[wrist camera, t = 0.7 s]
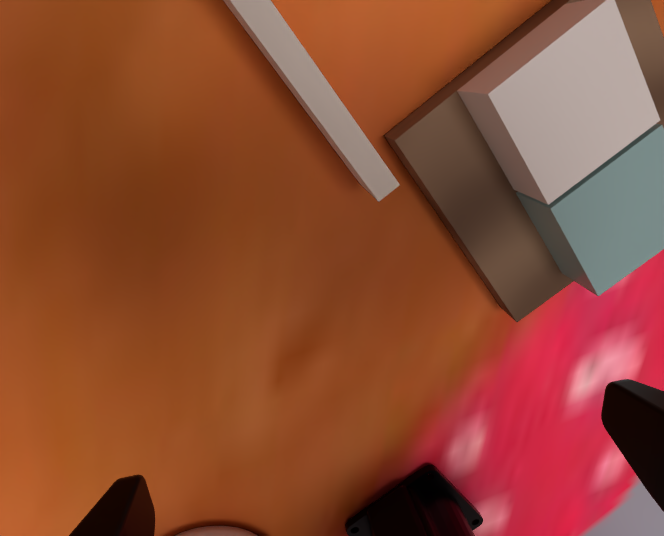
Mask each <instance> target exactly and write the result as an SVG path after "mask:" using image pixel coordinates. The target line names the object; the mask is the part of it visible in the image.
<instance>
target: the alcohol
mask: <svg viewBox="0 0 664 536" xmlns="http://www.w3.org/2000/svg"><path fill="white" fill-rule="evenodd" d="M175 536H258V535H256V534H254V533H252V532H250V531H248V530H244V529H241V528H238V527H231V526H206V527H200V528H194V529H191V530H188V531H185V532H182V533H179V534H177V535H175Z"/></svg>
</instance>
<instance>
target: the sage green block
mask: <svg viewBox="0 0 664 536" xmlns="http://www.w3.org/2000/svg"><path fill="white" fill-rule="evenodd" d="M516 194H517V196H518V198H519V199H520V201H521V203H522V205H523V206H524V208H525V210H526V212H527V213H528V215H529V217H530V219H531V220H532V222H533V224H534V226H535V227H536V229H537V231H538V232H539V234H540V236H541V238H542V239H543V241H544V243H545V245H546V246H547V248H548V250H549V252H550V253H551V255H552V257H553V259H554V260H555V262H556V264H557V265H558V267H559V269H560V271H561V272H562V274H564V275H566V276H567V277H569V278H570V279H572V280H574V281H575V282H577V283H578V284H580V285H581V286H583V287H585V288H586V289H588V290H589V291H591V292H592V293H594V294H596V295H597V296H599V295H601V294H602V293H603V292H605V291H606V290H608V289H609V288H610V287H612V286H613V285H614V284H616V283H617V282H619V281H620V280H621V279H623V278H624V277H625V276H627V275H628V274H630V273H631V272H632V271H634V270H635V269H637V268H638V267H639V266H641V265H642V264H643V263H645V262H646V261H648V260H649V259H650V258H652V257H653V256H655V255H656V254H657V253H659V252H660V251H661V250H663V249H664V128H663V126H662V125H661V124H655V125H653V126H652V127H651V128H650V129H648V130H647V131H646V132H644V133H643V134H642V135H640V136H639V137H638V138H636V139H635V140H634V141H632V142H631V143H630V144H628V145H627V146H626V147H624V148H623V149H622V150H620V151H619V152H618V153H616V154H615V155H614V156H612V157H611V158H610V159H608V160H607V161H606V162H604V163H603V164H602V165H601V166H599V167H598V168H597V169H595V170H594V171H593V172H591V173H590V174H589V175H587V176H586V177H585V178H583V179H582V180H581V181H579V182H578V183H577V184H575V185H574V186H573V187H571V188H570V189H569V190H567V191H566V192H565V193H563V194H562V195H561V196H559V197H558V198H557V199H555V200H554V201H553V202H552V203H550V204H549V205H548V204H545V203H543V202H541V201H539V200H536V199H534V198H532V197H530V196H527V195H525V194H523V193H521V192H517V193H516Z"/></svg>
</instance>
